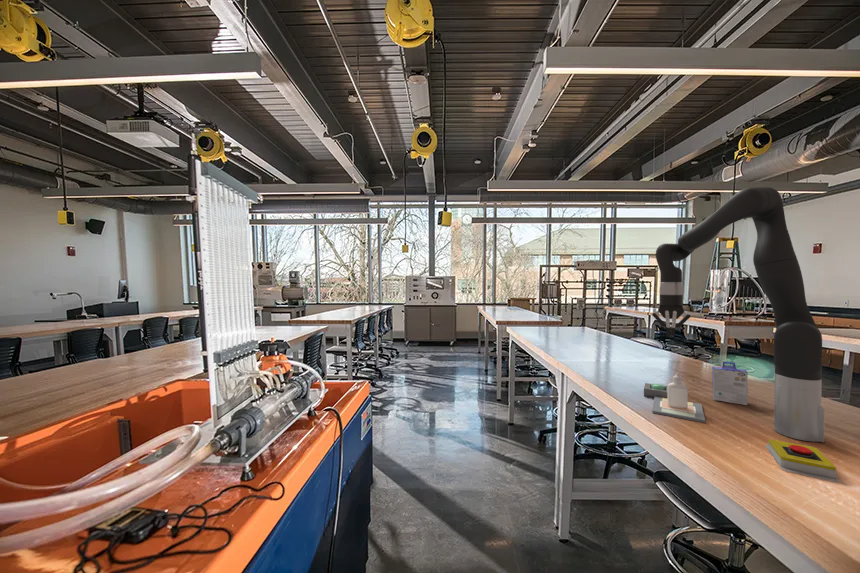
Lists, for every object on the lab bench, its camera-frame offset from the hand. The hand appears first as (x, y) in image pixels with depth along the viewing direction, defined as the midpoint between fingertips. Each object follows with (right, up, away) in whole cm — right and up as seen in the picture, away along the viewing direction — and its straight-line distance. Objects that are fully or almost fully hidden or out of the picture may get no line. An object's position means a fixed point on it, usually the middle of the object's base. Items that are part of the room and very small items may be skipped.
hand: (670, 337), depth 132 cm
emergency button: (-5, -24, -50) cm, 56 cm away
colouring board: (-9, -23, -16) cm, 29 cm away
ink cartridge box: (+17, -23, -7) cm, 30 cm away
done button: (-6, -22, -1) cm, 23 cm away
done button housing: (-6, -23, -1) cm, 24 cm away
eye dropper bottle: (-9, -22, -16) cm, 29 cm away
